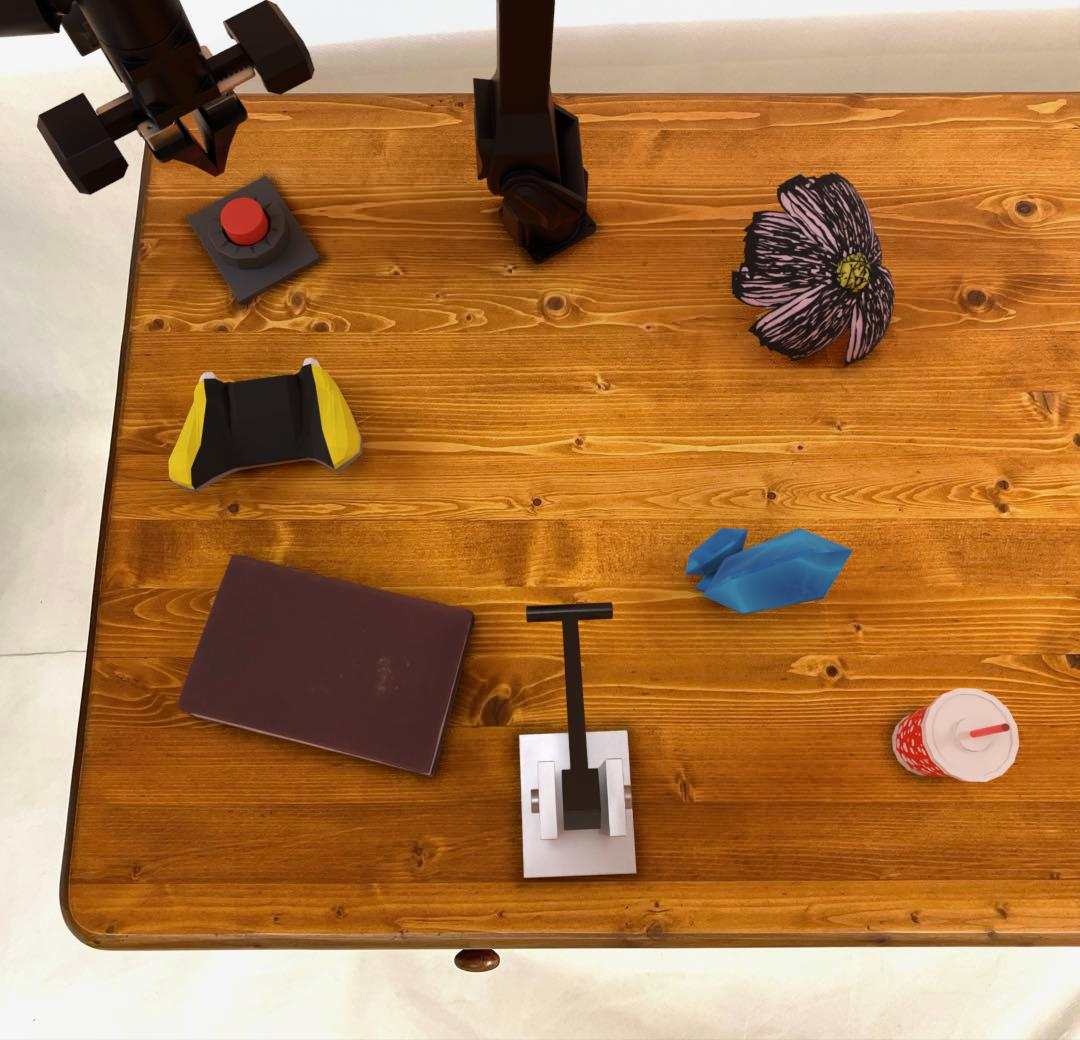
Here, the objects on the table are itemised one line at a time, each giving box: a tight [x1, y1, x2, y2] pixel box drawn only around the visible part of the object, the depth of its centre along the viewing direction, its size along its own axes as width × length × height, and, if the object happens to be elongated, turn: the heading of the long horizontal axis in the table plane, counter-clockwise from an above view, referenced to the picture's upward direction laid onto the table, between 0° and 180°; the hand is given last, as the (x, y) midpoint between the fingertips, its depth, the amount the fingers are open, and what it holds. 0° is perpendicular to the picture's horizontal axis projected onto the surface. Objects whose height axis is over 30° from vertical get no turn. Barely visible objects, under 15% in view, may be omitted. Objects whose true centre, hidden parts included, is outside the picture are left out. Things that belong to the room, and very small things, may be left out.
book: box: [175, 553, 476, 778], centre depth 74 cm, size 12×19×3 cm, turn 76°
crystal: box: [684, 527, 854, 616], centre depth 73 cm, size 7×9×12 cm
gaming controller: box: [167, 357, 364, 493], centre depth 78 cm, size 15×6×10 cm
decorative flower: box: [731, 170, 895, 368], centre depth 79 cm, size 15×12×15 cm
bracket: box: [518, 729, 637, 879], centre depth 64 cm, size 10×8×16 cm
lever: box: [525, 601, 614, 830], centre depth 63 cm, size 16×6×2 cm, turn 2°
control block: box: [186, 174, 322, 306], centre depth 85 cm, size 10×8×2 cm
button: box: [221, 198, 268, 245], centre depth 83 cm, size 4×4×2 cm
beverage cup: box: [891, 687, 1020, 783], centre depth 66 cm, size 6×6×14 cm
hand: (217, 170), depth 77 cm, fingers closed
